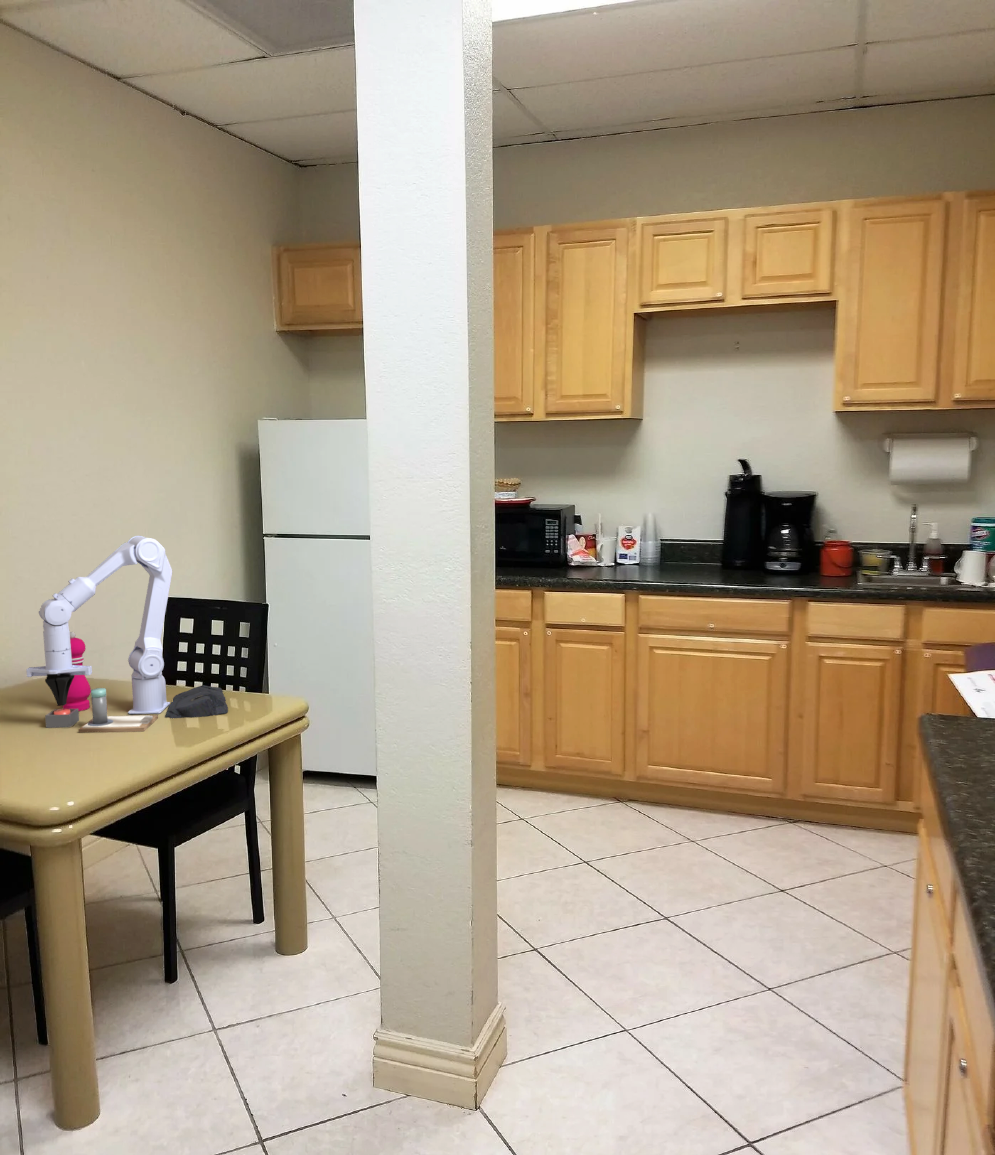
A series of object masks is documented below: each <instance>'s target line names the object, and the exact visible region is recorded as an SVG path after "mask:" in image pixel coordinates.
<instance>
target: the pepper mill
mask: <svg viewBox="0 0 995 1155" xmlns="http://www.w3.org/2000/svg"><path fill="white" fill-rule="evenodd" d="M70 644H71V657H72V665H81V666H84V665H83V663H84V662H85V656H84V653H85V652H86V644H85V642H84V640H83V639H81V638H80V637H79V638H78V637H76V633H75V632H74V631H70ZM91 690H92V689H91V684H90V683H89V681H88V679H87V677H86V675H74V678H73V681H72V683H71V685H70V688H69V691H68V696H67V702H66V704H65V705H64V706H62V709H78V711H79V712H83V711H86V710H88V709H89V708H90V700H89V699H88V698H89V697H90V696H91Z"/></svg>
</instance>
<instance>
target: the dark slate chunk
mask: <svg viewBox="0 0 995 1155" xmlns="http://www.w3.org/2000/svg"><path fill="white" fill-rule="evenodd" d="M172 699H173V702H172V701H171V702H170V703H171V704H169V705H168V706H167V710H166V713H165V714H164V718H170V719H171V718H172V719H173V718H174V719H184V718H185V719H187V718H188V719H191V718H193V719H194V718H205V717H213V716H219V715H226V714H228V712H229V707H228V703H226V702H227V701H226V700H227V699H226V696H225V695H224V691H223V689H222V688H221V687H217V686H208V685H198V686H196V687H193V688H191V689H189V690H186V691H183V692H181V693H178V694H176V695H174V696H173V698H172ZM172 719H171V720H172Z"/></svg>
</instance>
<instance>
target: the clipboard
mask: <svg viewBox="0 0 995 1155" xmlns="http://www.w3.org/2000/svg"><path fill="white" fill-rule="evenodd" d="M107 719H108V722H107V723H104V724H93V718H92V719H90V720H89V721H87V722H86V723H85V724H83V725H82V726H81V727H80V728H78V733H79V734H81V733H82V734H83V733H84V734H85V733H87V734H88V733H89V734H90V733H123V732H124V733H125V732H127V733H128V732H129V733H130V732H131V733H132V732H133V733H134V732H146V730H148V728H149V727H151V725H153V724H154V723H155V722H156V721H157V719H159V715H158V714H148V715H147V714H131V715H107Z"/></svg>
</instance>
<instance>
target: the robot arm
mask: <svg viewBox="0 0 995 1155" xmlns="http://www.w3.org/2000/svg"><path fill="white" fill-rule="evenodd" d="M138 564H139V565H141V567H142V568H143V569H144V570H145V571H146V573H147V574H148V575H149V578H148V584H147V590H146V596H145V600H144V601H145V602H144V606H143V613H142V618H141V624H140V630H139V634H138V637H137V639H136V640H135V641H134V646H133V649H132V650H131V652H130V653H129V656H128V658H127V659H128V660H127V661H128V664H129V667H130V668H131V669H132V670H133V671H132V674H130V675H131V687H132V688H131V690H132V691H131V692H132V708H131V709H130V710H129V711H127V714H128V715H147V714H148V715H156V714H162V712H163V711H164V710H165V709H166V708H168V707H169V705H170V703H171V702H170V701H167V688H166V687H167V686H166V685H167V684H166V679H165V677H164V676H163V672H162V671H163V670H164V666H165V662H164V658H163V649H164V648H163V644H162V641H161V640H162V634H163V628H164V622H165V615H166V612H167V604H168V601H169V600H168V599H169V593H170V587H171V581H172V575H173V569H172V566H171V564H170V561H169V558H168V557H167V553H166V548H165V547H163V545H162V544H161V543H160V542H159V541H158V540H157V539H155V538H153V537H152V538H151V537H146V536H142V535H134V536H133V537H132V536H131V538H129V539H128V541H126V542H124V543H122V544H121V545H120V546H119V547H117V548H116V549H115V550H114V551H113V552H112V553H110V555H109V556H107V557H106V558H105V559H104V560H103V561H102V562H101V563H100V564H99V565H97V566H96V567H95V568H94V569H93V570H92V571H91V572H90V573H88V575H86V576H77V577H76V578H70V579H69V580H68V584H67V585H66V586H64V587H63V589H61V590H60V591H59V592H58V593H56V592H55V593H53V594H51V595H52V597H53V598H50V599H49V598H48V599H47V600H45V601H44V602H43V603H42V604H41V605H40V608H39V611H38V614H39V617H40V618H41V620H42V629H43V631H42V635H43V647H44V660H45V661H44V662H45V663H44V664H45V665H42V666H31V667H28V668H26V677H28V678H31V677H45V676H46V678H45V679H44V682H45V684H46V685H47V687H49V689H50V690H51V692H52V694H53V696H54V700H55V703H56V706H57V707H63V706H64V705H65V704H66V702H67V696H68V691H69V688H70V685H71V683H72V681H73V678H74V675H85V676H92V674H93V669H92V665H83V666H81V665H72V657H71V644H70V632H71V631H70V628H69V626H70V624H69V621H70V620H71V617H72V613H74V612H76V611H78V609H79V608H81V607H82V606H83V605H84V604H86V602H88V601H89V600H90V599H91V598H93V597H94V596H95V595H96V589H97V586H99V585H100V584H101V583H102V582H104V581H105V580H107V579H108V578H109V577H111V576H113V575H114V573H116V572H117V571H118V570H119V569H121V568H122V567H124V566H133V565H138Z"/></svg>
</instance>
